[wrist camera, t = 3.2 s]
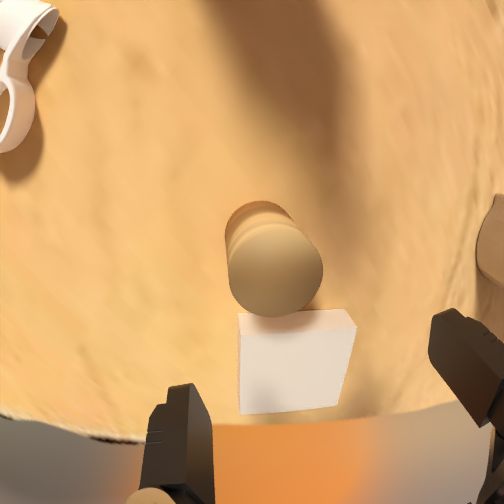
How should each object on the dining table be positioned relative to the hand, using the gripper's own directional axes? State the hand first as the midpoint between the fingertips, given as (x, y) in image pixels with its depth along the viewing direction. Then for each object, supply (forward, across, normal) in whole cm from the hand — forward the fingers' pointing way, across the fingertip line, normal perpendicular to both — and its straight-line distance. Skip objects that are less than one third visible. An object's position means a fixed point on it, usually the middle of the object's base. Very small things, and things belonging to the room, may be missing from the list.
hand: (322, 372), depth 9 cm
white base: (+15, 0, +12) cm, 19 cm away
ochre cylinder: (+15, 0, 0) cm, 15 cm away
